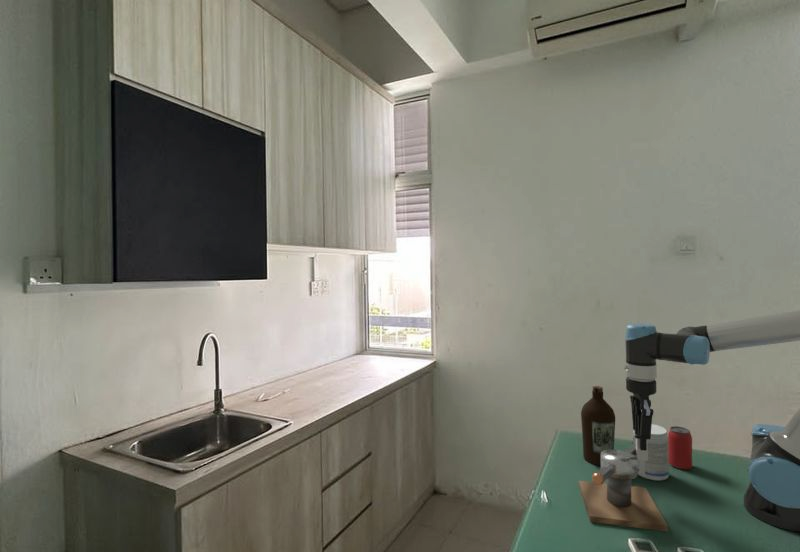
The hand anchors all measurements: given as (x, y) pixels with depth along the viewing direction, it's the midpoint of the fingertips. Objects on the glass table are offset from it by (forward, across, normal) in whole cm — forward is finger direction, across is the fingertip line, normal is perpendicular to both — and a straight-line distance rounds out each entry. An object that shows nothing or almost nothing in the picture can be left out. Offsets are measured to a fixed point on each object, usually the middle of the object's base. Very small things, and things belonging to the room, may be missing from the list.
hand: (641, 459), depth 119 cm
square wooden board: (+11, +7, -8) cm, 15 cm away
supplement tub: (+11, -14, +6) cm, 19 cm away
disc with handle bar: (+1, +8, -8) cm, 11 cm away
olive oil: (+11, -21, -8) cm, 25 cm away
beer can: (+11, -22, +17) cm, 30 cm away
